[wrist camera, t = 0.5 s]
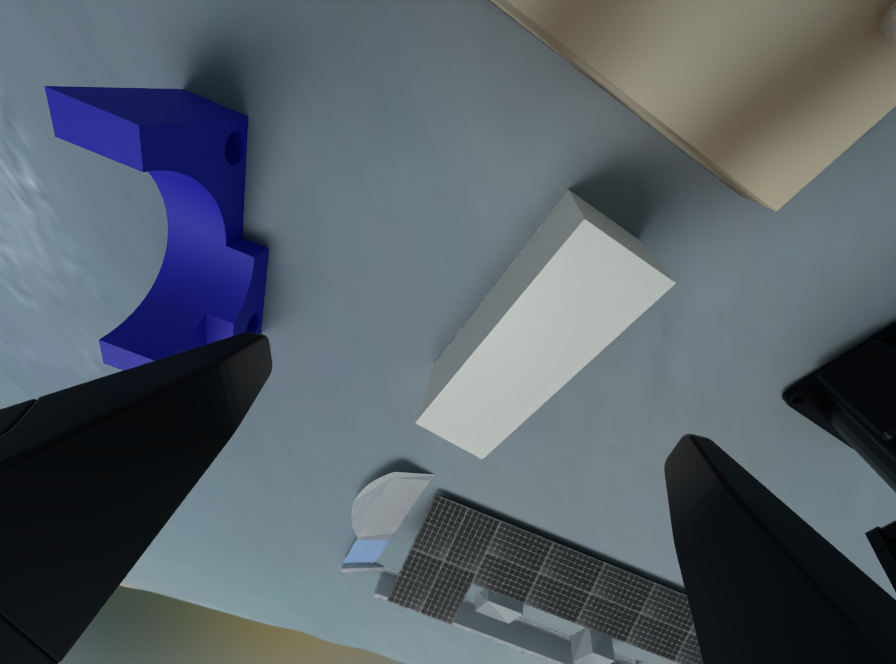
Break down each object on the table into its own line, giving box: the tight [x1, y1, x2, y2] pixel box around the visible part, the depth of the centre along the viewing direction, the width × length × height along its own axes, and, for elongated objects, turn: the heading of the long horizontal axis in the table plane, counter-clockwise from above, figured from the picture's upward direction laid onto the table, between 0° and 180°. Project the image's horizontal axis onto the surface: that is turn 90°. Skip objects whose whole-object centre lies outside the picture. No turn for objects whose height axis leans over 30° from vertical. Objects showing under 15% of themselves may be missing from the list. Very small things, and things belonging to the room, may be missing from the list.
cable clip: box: [45, 86, 269, 370], centre depth 18 cm, size 12×4×6 cm, turn 160°
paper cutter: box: [340, 472, 703, 664], centre depth 32 cm, size 18×45×6 cm, turn 67°
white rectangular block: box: [415, 189, 676, 459], centre depth 18 cm, size 4×12×5 cm, turn 149°
